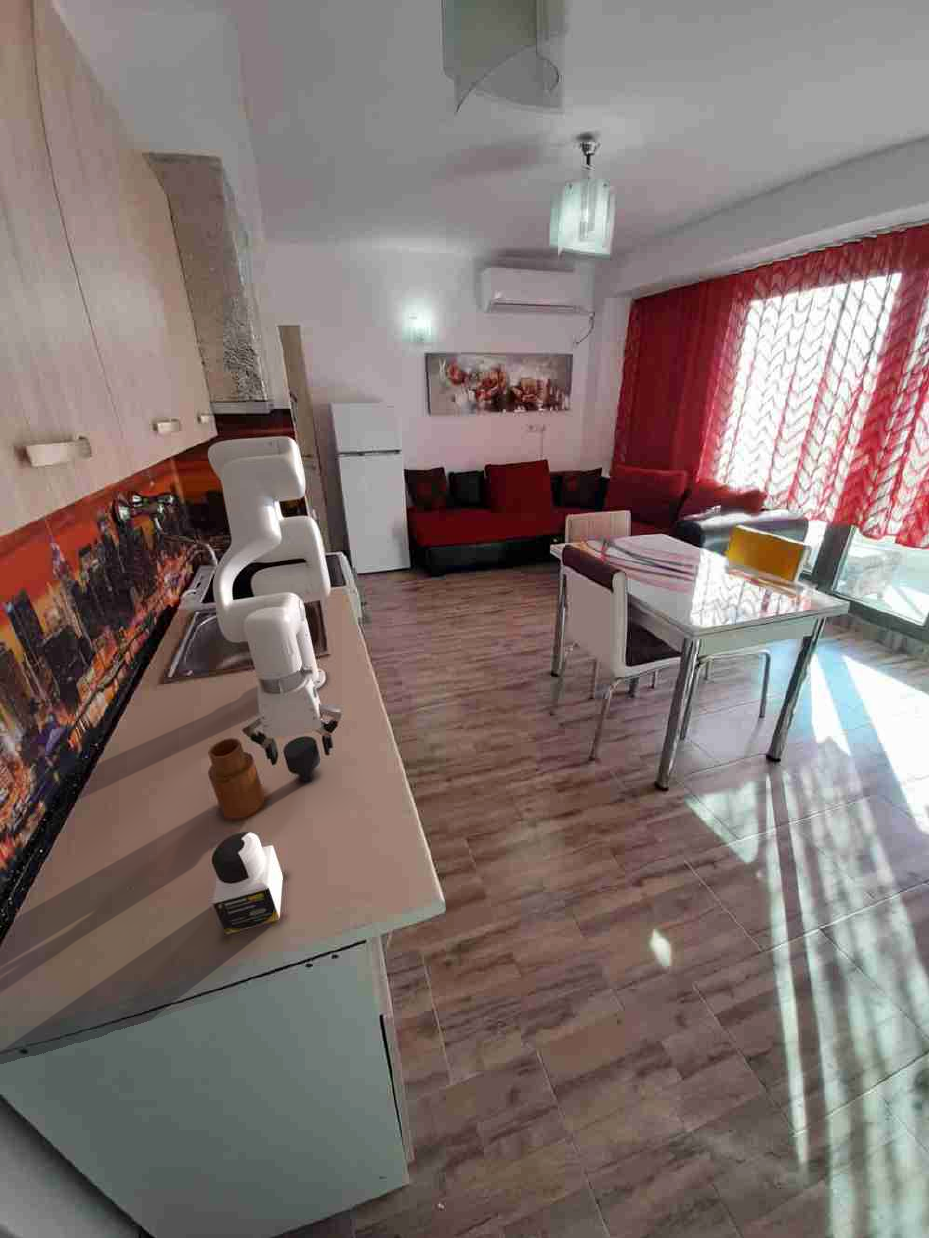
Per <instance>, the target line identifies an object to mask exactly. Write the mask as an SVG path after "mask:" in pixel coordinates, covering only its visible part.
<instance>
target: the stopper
mask: <svg viewBox="0 0 929 1238" xmlns="http://www.w3.org/2000/svg"><path fill="white" fill-rule="evenodd" d="M282 754H283V756H284V759H285V763H286V766H287V770H288V771H289V773H291V774H293V775H298V779H299V781H300V782H302V783H309V782H312V781H313V780H314V779H315V778H316V777H317V776H316V770H315V769H316V768H317V767H318V766H319V764H320V763H321V755H320V751H319V747H318V743H317V741H316V739H315V737H312V736H308V735H307V736H299V737H295V738H293V739H291V740H289V741H288V742H287V743H286V744H285V746H284V748H283V751H282Z"/></svg>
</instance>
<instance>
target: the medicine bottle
mask: <svg viewBox="0 0 929 1238" xmlns="http://www.w3.org/2000/svg"><path fill="white" fill-rule="evenodd" d="M277 857H278V856H277V854H276V850H275V848H274V846H273V845H271V844H270V845H267V846H262V843H261V840H260V838H259V836H258V835H257V834H255V833H253V832H250V831H241V832H237V833H234V834H231V835H230V836H228V837H226V838H225V839H224V840H222V841H221V842H220V843H219V844H218V845H217V847H216V848H215V850H214V851H213V853H212V856H211V864H212V866H213V867H212V868H213V869H214V871H215V874H216V876H217V878H216V882H215V886H214V891H213V895H212V900H211V902H212V905H213V907H214V910H215V912H216V914H217V917H218V919H219V921H220V923H221V926H222V928H223V930H224V933H225V934H226V935H229V934H234V933H237V932H241V931H243V930H247V929H251V928H253V927H254V928H255V927H258V926H261V925H266V924H268V923H271V922H275V921H278V920H279V919H280V916H281V907H282V906H281V905H282V894H283V893H282V892H283V891H282V890H283V882H284V881H283V879H284V875H283V873H282V870H281V869H282V868H281V865H280V863H279V860H278V858H277Z"/></svg>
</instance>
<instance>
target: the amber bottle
mask: <svg viewBox="0 0 929 1238" xmlns="http://www.w3.org/2000/svg"><path fill="white" fill-rule="evenodd" d="M207 753H208V757H209V760H210V763H211V765H210V767H209V769H208V771H207V775H208V778H209V780H210V784H211V786H212V789H213V792H214V794H215V797H216V800H217V802H218V805H219V807H220V811H221V813H222V814H223V816H224V817H225V818H226V819H229V820H241V819H244V818H247V817H249V816H251V815H253V814H254V813H256V812H257V811H258V810H259V809H260V808H261V807H262V805H263V804H264V802H265V797H266V795H265V792H264V789H263V786H262V783H261V779H260V776H259V773H258V770H257V767H256V764H255V761H254V758H253V755H252V754H250V753H249V752H246V751H244V748H243V745H242V743H241V741H240V739H239V738H233V737H230V738H225V739H222V740H220V741H217V742H215V744H213V745H212V746H211V747H210V748H209V750H208V752H207Z"/></svg>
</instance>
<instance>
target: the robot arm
mask: <svg viewBox="0 0 929 1238" xmlns="http://www.w3.org/2000/svg"><path fill="white" fill-rule="evenodd" d="M207 458H208V461H209V464H210V466H211V469H212V470H213V472H214V474H215V475H216V476H217V478H218V479H219V480H220V483H221V488H222V493H223V500H224V504H225V510H226V515H227V521H228V526H229V532H230V536H231V544H230V546H229V547H228V548H227V550H226V552H224V554H223V555H222V557H221V559H220V561H219V563H218V564H217V567H216V569H215V572H214V576H213V581H212V592H213V593H212V594H213V599H214V606H215V607H214V608H215V612H216V618H217V624H218V626H219V627H218V628H219V630H220V632H221V634H222V636H223V637H224V638H225V639H226V641H228V642H230V643H231V642H232V643H244V642H246V643H247V645H248V649H249V652H250V656H251V660H252V663H253V667H254V670H255V675H256V678H257V680H258V681H257V682H258V686H257V691H256V692H257V693H256V694H257V706H258V716H255V717H254V718H253V719H251V720H250V721H248V722H247V723H245V724H244V725H243V727H242V729H241V730H242V733H243V734H245V736H247V737H248V738H249V739H250V741H252V743H253V742H254V743H255V744H258V745H259V746H260V748H261V749H264V753H265V756H266V758H267V760H270V764H271V766H275V765H276V764H277V763H278V758H279V751H278V747H277V744H276V740H275V739H280V738H286V737H293V736H299V735H304V734H311V733H314V732H316V733H318V734H319V735H321V743H322V747H323V751H324V754H325V756H330V754H331V749H333V748H334V742H333V738H332V737H333V736H332V733H333V732H334V731H335V730H336V729H337V728H338V726H339V723H340V721H341V718H342V715H343V714H342V712H343V711H342V709H341V708H337V707H332V706H328V705H324V704H322V703H321V700H320V696H319V694H318V690H319V688H321V686H323V685H324V683H325V682H326V679H327V678H326V674H325V671H324V670H323V669H322V668H319V667H318V665H317V661H316V656H315V651H314V650H315V649H314V646H313V642H312V637H311V632H310V628H309V623H308V620H307V617H306V608H305V604H306V603H312V602H316V601H322V600H325V599H327V598H328V597H329V596H330V594H331V581H330V580H331V579H330V574H329V570H328V565H327V564H328V563H327V560H326V555H325V550H324V545H323V539H322V535H321V532H320V528H319V525H318V524H317V522H316V521H315V519H314V518H313V517H310V516H308V515H297V516H296V515H295V516H288V517H284V516H283V514H282V510H281V505H280V502H285V501H293V500H300V499H302V498H303V497H304V495H305V493H306V487H307V486H306V475H305V470H304V465H303V459H302V456H301V451H300V448H299V446H298V444H297V442H296V441H295V440H294V439H292V438H291V437H289V436H282V435H281V436H266V437H265V436H264V437H253V438H252V437H251V438H250V437H249V438H238V439H236V438H235V439H228V440H222V441H218V442H216V443H213V444H212V445H211V446H210V447H209V448H208V449H207ZM296 559H297V560H298V559H302V560H305V562H298V563H293V564H292V563H291V564H284V565H278V566H271V567H266V568H263V569H260V570H258V571H257V572H255V573H254V574H253V576H252V577H251V579H250V587H251V591H252V594H253V596H252V597H245V598H240V599H234V597H233V586H234V582H235V580H236V578H237V576H238V575H239V574H240V572H241V571H242V570H243V569H244V568H246V567H247V566H248V565H250V564H251V563H252V562H254V561H256V562H258V563H275V562H283V561H288V560H289V561H290V560H296ZM317 689H318V690H317ZM324 716H327V717H331V719H330V720H329V722H328V721H326V720H325V719H323V717H324ZM260 726H261V729H262V732H261V731H259V730H256V728H258V727H260Z"/></svg>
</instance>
